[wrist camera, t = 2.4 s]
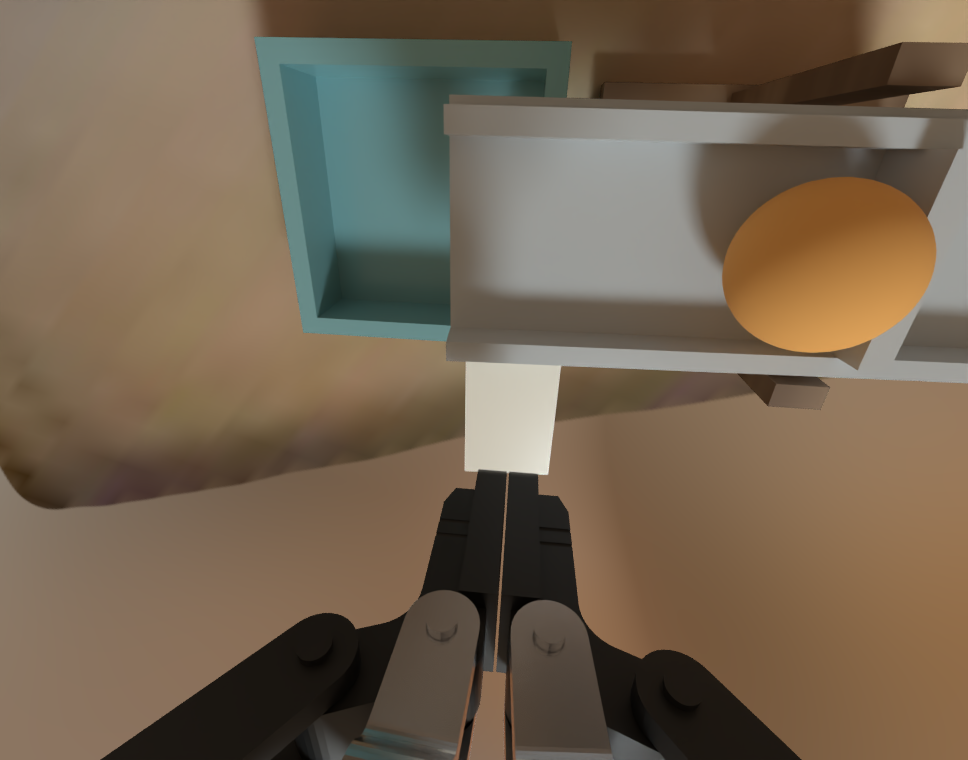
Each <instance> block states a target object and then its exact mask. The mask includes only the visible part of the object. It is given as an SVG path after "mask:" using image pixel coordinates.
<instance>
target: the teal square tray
mask: <svg viewBox="0 0 968 760" xmlns="http://www.w3.org/2000/svg"><path fill="white" fill-rule="evenodd" d="M254 38H255V44H256V50H257V56H258V62H259V68H260V74H261V80H262V86H263V92H264V98H265V104H266V110H267V116H268V123H269V129H270V135H271V141H272V147H273V153H274V159H275V165H276V171H277V177H278V183H279V189H280V195H281V201H282V207H283V213H284V219H285V225H286V231H287V237H288V243H289V249H290V255H291V261H292V267H293V273H294V279H295V285H296V291H297V297H298V303H299V309H300V315H301V321H302V327H303V333H319V334H336V335H352V336H368V337H384V338H400V339H416V340H433V341H447V337H448V334H449V331H450V328H451V303H450V137H449V136H448V135H445V134H444V104H449V94H450V95H484V96H519V97H553V98H567V89H568V78H569V68H570V57H571V47H572V41H508V40H438V39H368V38H297V37H254Z"/></svg>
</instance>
